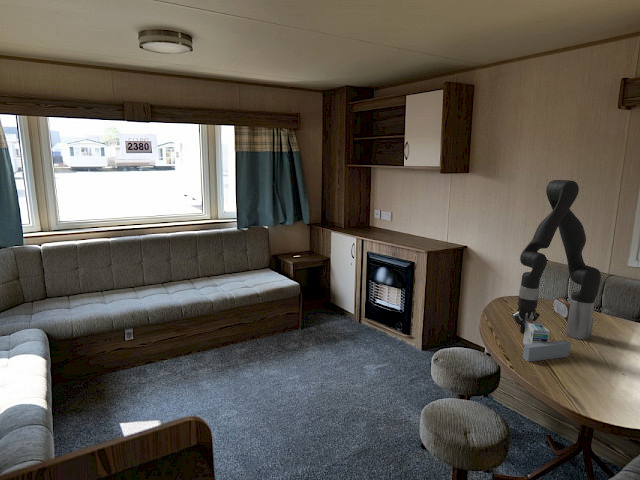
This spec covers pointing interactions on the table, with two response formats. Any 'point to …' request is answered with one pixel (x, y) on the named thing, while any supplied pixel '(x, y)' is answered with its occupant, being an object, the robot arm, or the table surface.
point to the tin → (561, 307)
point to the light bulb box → (535, 333)
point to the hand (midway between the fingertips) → (523, 333)
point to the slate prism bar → (546, 350)
